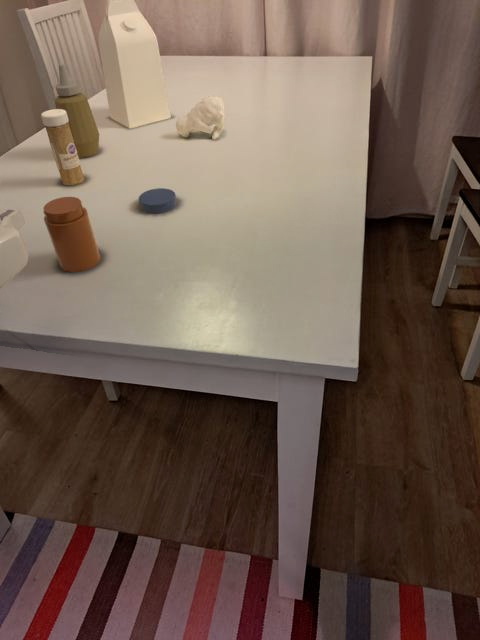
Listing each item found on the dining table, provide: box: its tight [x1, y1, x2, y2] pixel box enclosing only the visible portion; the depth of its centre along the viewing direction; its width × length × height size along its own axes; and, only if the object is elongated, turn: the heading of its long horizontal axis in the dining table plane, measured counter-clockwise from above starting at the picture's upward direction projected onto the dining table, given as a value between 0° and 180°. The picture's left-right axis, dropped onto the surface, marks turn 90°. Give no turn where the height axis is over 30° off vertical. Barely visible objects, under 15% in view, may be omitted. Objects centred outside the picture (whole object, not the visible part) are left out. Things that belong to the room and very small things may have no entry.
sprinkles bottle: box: [40, 108, 85, 187], centre depth 90 cm, size 5×5×13 cm
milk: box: [97, 0, 172, 129], centre depth 114 cm, size 12×12×26 cm
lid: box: [138, 187, 178, 215], centre depth 84 cm, size 7×6×2 cm
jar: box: [42, 196, 101, 273], centre depth 68 cm, size 6×6×10 cm
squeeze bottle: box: [54, 64, 100, 159], centre depth 99 cm, size 8×8×18 cm
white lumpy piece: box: [175, 95, 226, 140], centre depth 108 cm, size 6×8×12 cm
